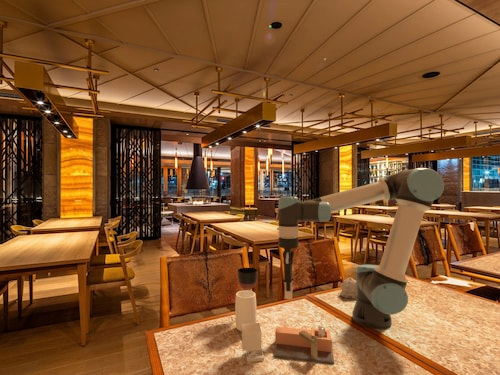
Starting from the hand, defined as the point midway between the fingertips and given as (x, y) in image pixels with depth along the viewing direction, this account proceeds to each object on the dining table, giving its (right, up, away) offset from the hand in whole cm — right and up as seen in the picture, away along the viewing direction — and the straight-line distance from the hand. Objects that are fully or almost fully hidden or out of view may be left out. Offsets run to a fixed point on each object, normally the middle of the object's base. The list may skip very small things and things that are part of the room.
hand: (288, 298), depth 107 cm
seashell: (+39, -14, +39) cm, 57 cm away
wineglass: (-16, -14, +16) cm, 27 cm away
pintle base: (+4, -14, -9) cm, 17 cm away
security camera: (-14, -14, -14) cm, 24 cm away
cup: (-16, -14, +4) cm, 22 cm away
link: (+4, -13, -8) cm, 16 cm away
